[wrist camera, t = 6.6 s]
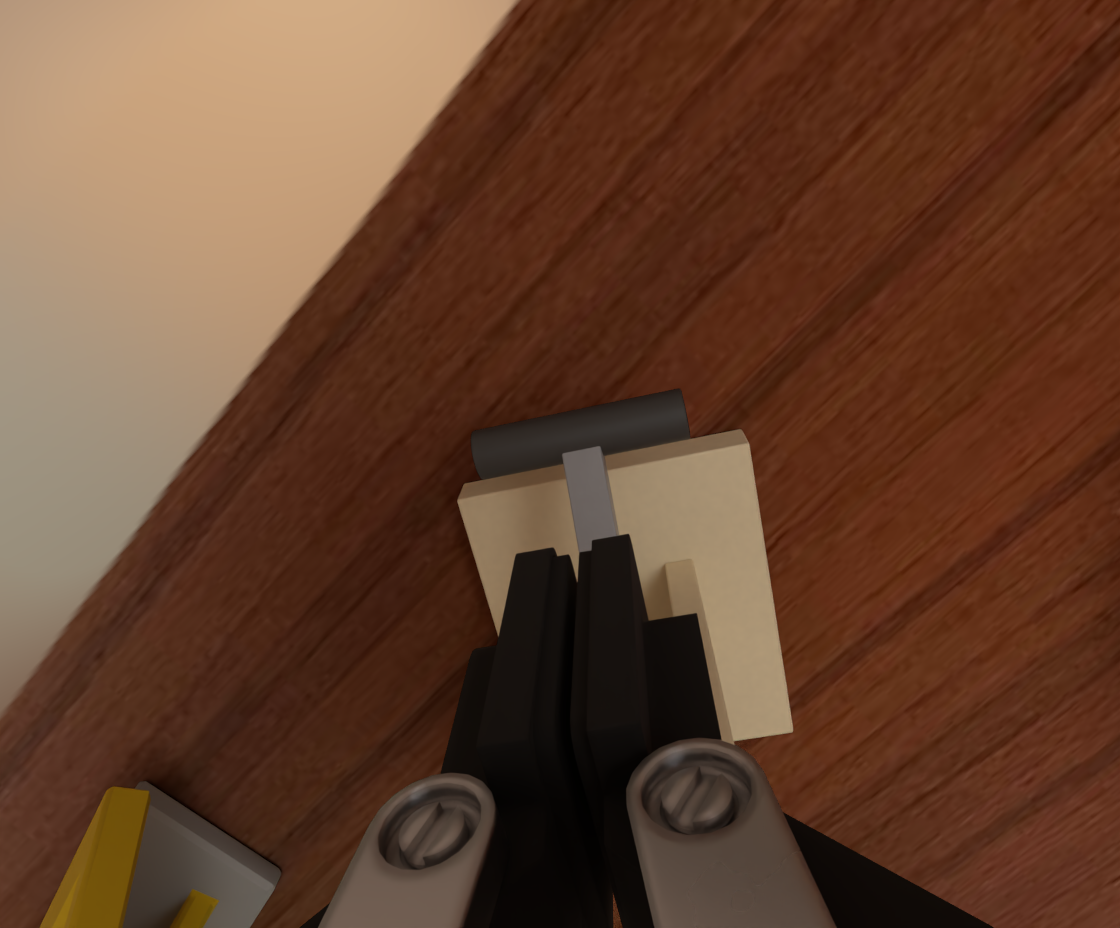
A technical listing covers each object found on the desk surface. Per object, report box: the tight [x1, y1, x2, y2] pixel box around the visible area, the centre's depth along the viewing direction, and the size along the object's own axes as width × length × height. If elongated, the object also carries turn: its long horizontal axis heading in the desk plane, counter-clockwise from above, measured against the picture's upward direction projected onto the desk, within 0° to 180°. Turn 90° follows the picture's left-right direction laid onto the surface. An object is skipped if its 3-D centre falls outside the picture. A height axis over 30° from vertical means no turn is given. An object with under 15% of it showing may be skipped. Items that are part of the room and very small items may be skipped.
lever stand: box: [457, 429, 793, 745], centre depth 24 cm, size 12×10×12 cm
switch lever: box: [471, 389, 690, 552], centre depth 21 cm, size 12×6×2 cm, turn 13°
